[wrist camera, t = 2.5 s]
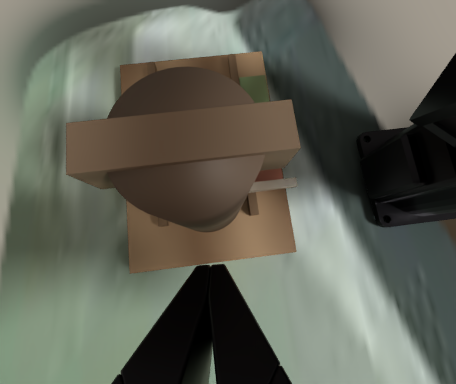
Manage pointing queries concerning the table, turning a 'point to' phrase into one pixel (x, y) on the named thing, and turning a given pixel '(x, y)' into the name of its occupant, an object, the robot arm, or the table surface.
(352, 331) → the table surface
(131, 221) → the tuner board
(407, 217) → the robot arm
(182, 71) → the peg
